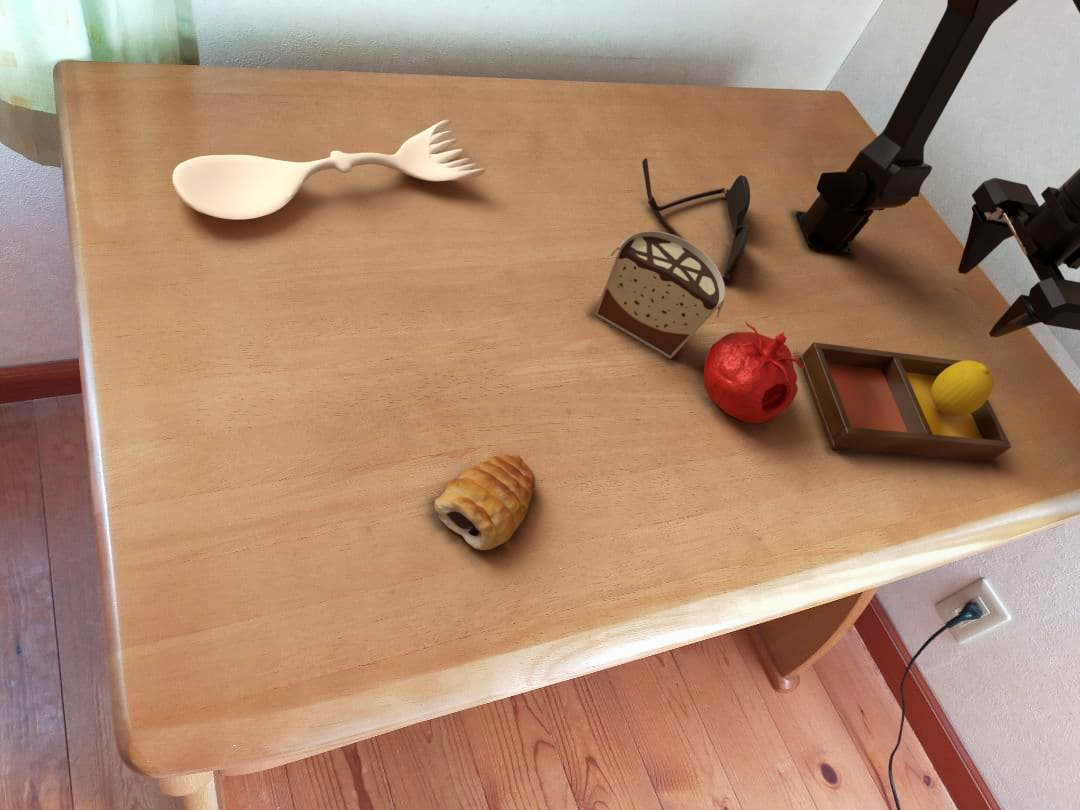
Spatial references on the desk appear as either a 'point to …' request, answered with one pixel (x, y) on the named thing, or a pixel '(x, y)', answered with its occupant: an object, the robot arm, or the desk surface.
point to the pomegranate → (751, 375)
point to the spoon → (303, 174)
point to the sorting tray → (893, 405)
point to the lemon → (962, 388)
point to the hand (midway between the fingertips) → (976, 303)
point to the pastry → (487, 501)
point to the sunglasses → (736, 207)
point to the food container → (661, 290)
